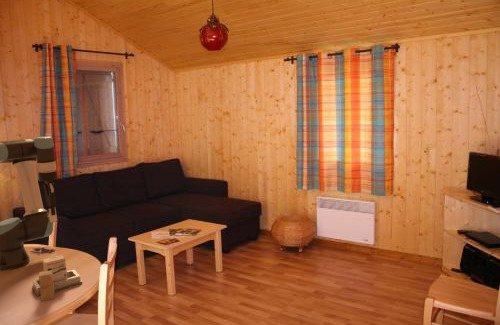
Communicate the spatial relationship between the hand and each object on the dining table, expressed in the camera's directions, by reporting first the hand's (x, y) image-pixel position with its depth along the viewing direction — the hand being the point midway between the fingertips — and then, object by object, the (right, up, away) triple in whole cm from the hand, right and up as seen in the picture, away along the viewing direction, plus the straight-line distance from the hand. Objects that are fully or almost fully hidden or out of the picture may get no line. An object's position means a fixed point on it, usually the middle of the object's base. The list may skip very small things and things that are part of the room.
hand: (53, 221), depth 190 cm
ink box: (+5, -27, -7) cm, 28 cm away
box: (+6, -30, -18) cm, 35 cm away
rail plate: (+5, -28, -6) cm, 29 cm away
